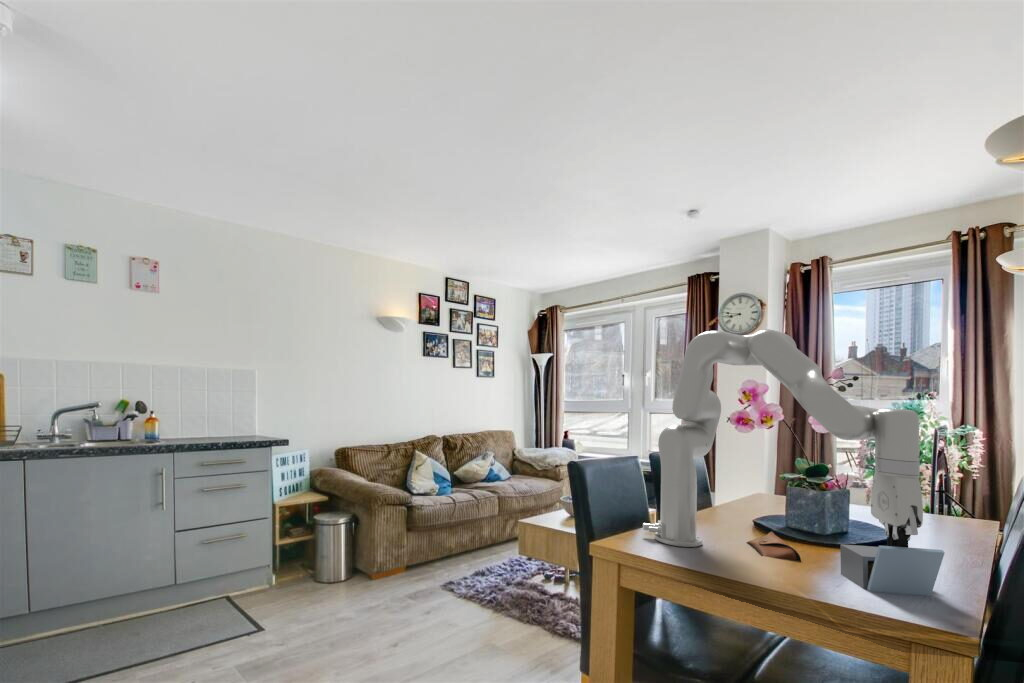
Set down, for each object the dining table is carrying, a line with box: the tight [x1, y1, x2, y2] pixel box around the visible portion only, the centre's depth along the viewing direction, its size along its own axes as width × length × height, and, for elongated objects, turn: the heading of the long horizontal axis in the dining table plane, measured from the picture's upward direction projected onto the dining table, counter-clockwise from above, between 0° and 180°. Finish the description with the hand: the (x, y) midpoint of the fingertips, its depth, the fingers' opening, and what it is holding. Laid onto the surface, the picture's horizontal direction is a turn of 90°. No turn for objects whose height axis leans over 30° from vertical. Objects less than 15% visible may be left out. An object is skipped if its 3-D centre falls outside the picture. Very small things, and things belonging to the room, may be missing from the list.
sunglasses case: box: [746, 531, 802, 562], centre depth 138 cm, size 18×7×7 cm
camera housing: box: [839, 543, 878, 590], centre depth 115 cm, size 15×9×7 cm, turn 84°
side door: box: [866, 545, 945, 597], centre depth 108 cm, size 12×1×11 cm, turn 84°
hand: (897, 558), depth 108 cm, fingers closed
